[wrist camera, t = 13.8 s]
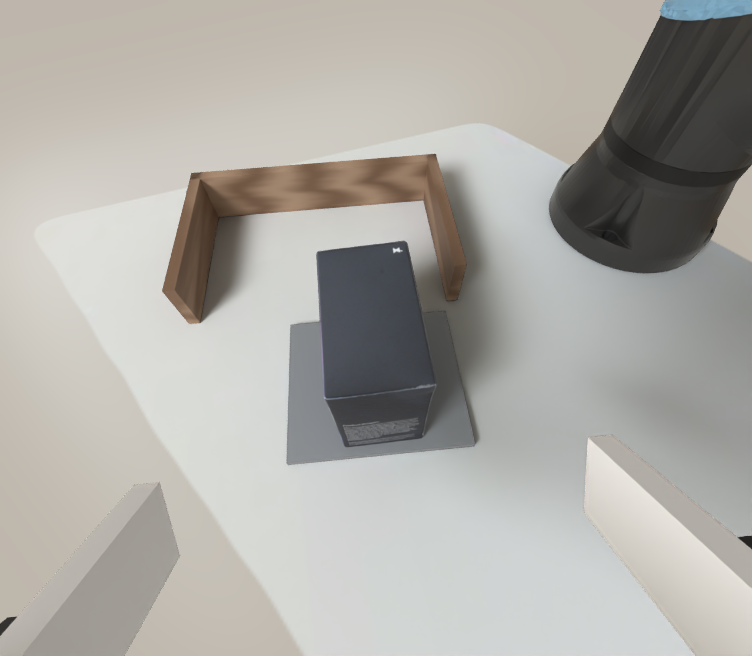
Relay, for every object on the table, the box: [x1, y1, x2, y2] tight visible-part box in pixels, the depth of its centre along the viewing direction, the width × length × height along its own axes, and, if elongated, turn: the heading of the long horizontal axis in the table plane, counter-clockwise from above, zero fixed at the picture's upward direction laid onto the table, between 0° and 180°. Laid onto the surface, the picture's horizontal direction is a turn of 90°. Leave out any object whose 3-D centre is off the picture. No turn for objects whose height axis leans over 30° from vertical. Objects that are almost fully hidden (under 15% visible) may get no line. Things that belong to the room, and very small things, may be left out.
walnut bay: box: [162, 154, 467, 324], centre depth 37 cm, size 25×15×5 cm, turn 95°
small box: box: [316, 241, 437, 447], centre depth 27 cm, size 11×6×10 cm, turn 7°
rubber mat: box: [287, 311, 475, 465], centre depth 32 cm, size 14×12×1 cm
